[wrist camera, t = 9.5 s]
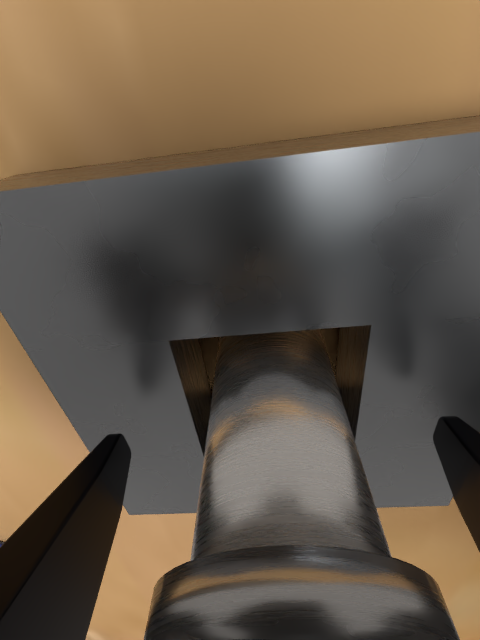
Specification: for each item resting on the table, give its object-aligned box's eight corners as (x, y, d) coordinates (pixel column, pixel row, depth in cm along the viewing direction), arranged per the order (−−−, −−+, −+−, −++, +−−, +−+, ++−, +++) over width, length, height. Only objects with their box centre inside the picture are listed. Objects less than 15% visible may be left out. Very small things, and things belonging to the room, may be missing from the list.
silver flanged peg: (340, 278, 11) (523, 621, 4) (333, 385, 14) (427, 697, 6) (193, 291, 11) (90, 620, 4) (215, 392, 14) (179, 691, 7)
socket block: (522, 109, 8) (643, 111, 6) (417, 443, 16) (448, 505, 13) (14, 175, 9) (-71, 200, 7) (146, 455, 17) (129, 514, 15)
